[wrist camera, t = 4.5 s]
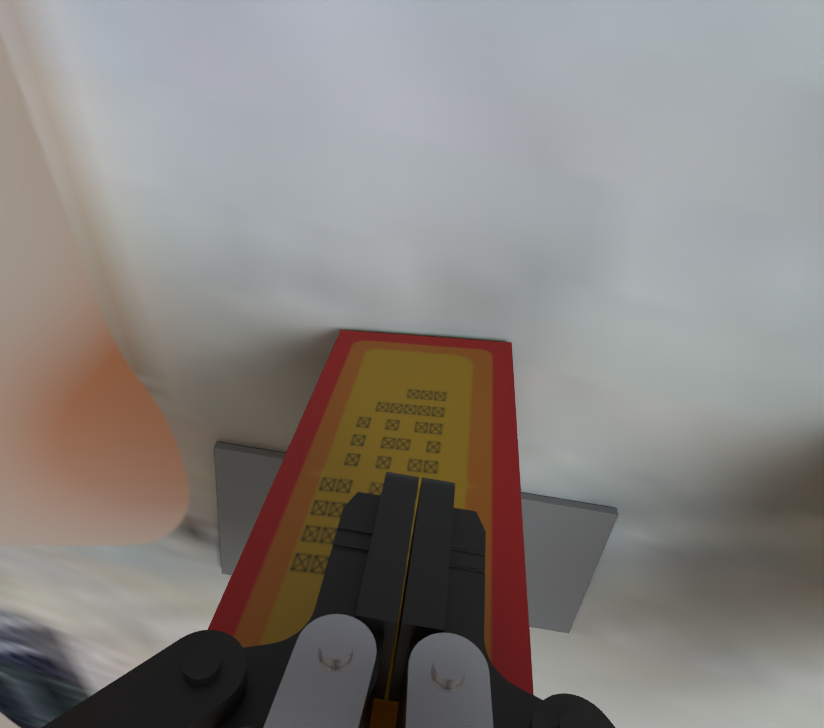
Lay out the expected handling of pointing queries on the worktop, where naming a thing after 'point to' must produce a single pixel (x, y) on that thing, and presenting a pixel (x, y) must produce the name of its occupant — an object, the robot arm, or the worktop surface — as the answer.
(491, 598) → the baking soda box
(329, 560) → the robot arm
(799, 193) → the worktop surface
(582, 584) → the mat
